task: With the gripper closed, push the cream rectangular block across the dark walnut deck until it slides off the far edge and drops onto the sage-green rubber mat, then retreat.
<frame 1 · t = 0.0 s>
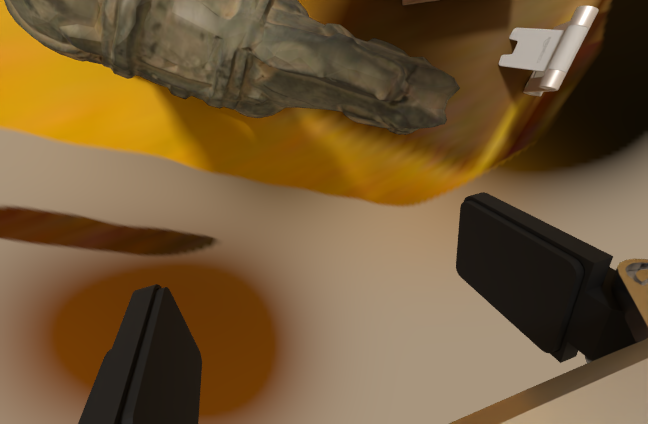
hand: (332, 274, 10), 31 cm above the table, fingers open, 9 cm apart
portable electronic device stand: (523, 56, 44), on the table
statue: (236, 61, 34), on the table
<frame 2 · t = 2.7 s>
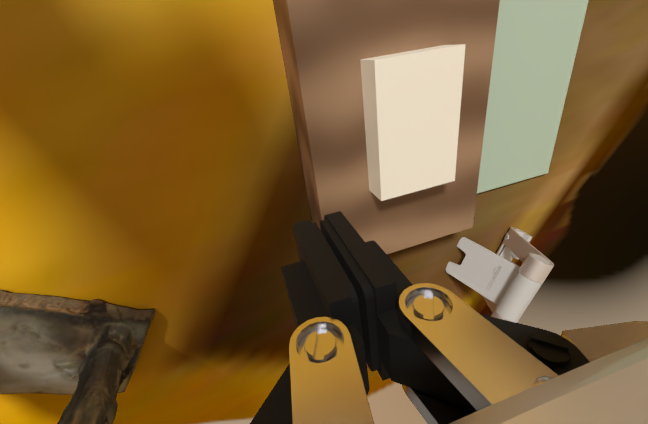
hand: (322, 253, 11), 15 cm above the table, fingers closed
portable electronic device stand: (476, 255, 37), on the table
statue: (101, 338, 27), on the table
mat: (514, 84, 28), on the table
cream rectangular block: (404, 122, 22), point 4 cm above the table, touching deck
deck: (378, 113, 25), on the table
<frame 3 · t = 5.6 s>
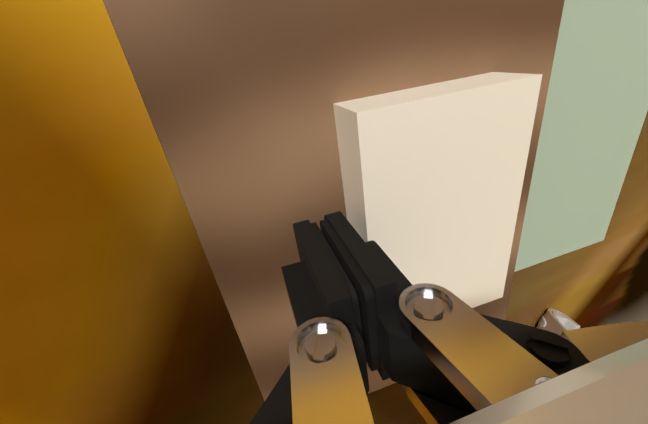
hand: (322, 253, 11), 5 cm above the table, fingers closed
portable electronic device stand: (499, 344, 27), on the table
mat: (564, 124, 18), on the table
cream rectangular block: (416, 204, 13), point 4 cm above the table, touching gripper
deck: (351, 179, 16), on the table
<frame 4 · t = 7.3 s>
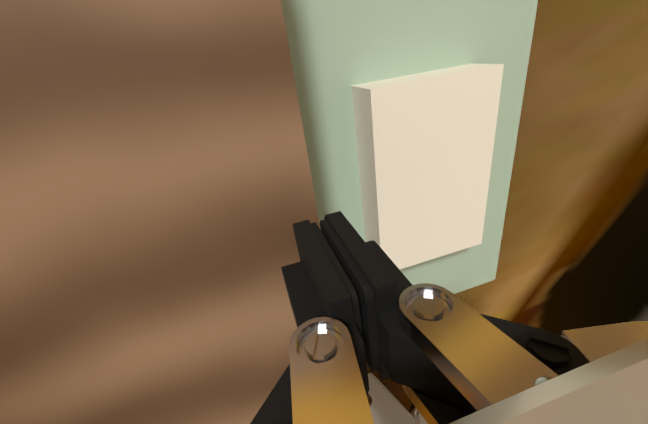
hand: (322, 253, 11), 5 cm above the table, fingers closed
portable electronic device stand: (398, 385, 26), on the table
mat: (416, 163, 17), on the table
cream rectangular block: (436, 180, 14), point 2 cm above the table, tilted 180°, touching mat
deck: (148, 232, 14), on the table
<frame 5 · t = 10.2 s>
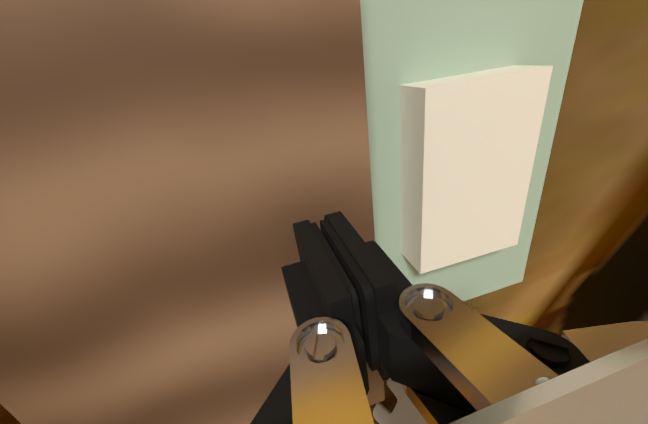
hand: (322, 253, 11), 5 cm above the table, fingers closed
portable electronic device stand: (420, 386, 25), on the table
mat: (454, 164, 17), on the table
cream rectangular block: (479, 180, 15), point 2 cm above the table, tilted 180°, touching mat
deck: (194, 227, 14), on the table
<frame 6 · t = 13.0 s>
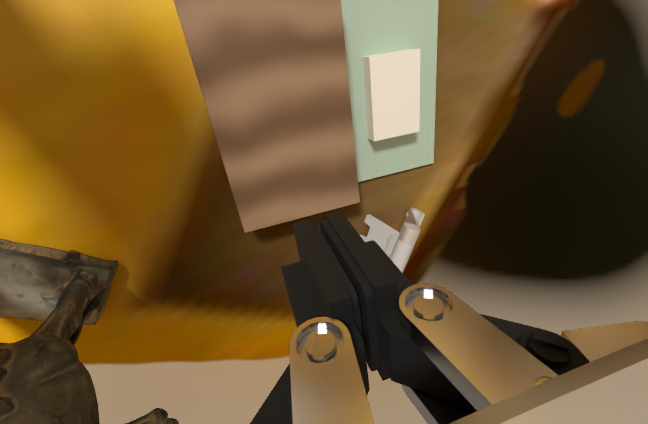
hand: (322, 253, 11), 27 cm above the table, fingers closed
portable electronic device stand: (384, 230, 46), on the table
statue: (78, 282, 36), on the table
mat: (389, 94, 37), on the table
cream rectangular block: (396, 97, 35), point 2 cm above the table, tilted 180°, touching mat
deck: (279, 116, 35), on the table
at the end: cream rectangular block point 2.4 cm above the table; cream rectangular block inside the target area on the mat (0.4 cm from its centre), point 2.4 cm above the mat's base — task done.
